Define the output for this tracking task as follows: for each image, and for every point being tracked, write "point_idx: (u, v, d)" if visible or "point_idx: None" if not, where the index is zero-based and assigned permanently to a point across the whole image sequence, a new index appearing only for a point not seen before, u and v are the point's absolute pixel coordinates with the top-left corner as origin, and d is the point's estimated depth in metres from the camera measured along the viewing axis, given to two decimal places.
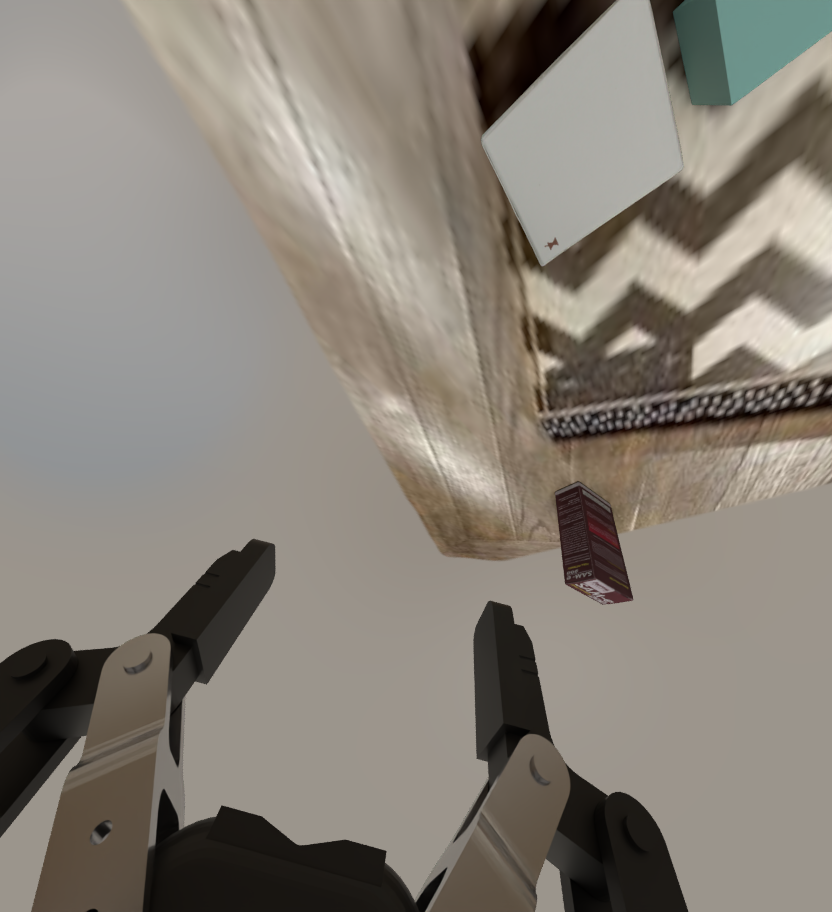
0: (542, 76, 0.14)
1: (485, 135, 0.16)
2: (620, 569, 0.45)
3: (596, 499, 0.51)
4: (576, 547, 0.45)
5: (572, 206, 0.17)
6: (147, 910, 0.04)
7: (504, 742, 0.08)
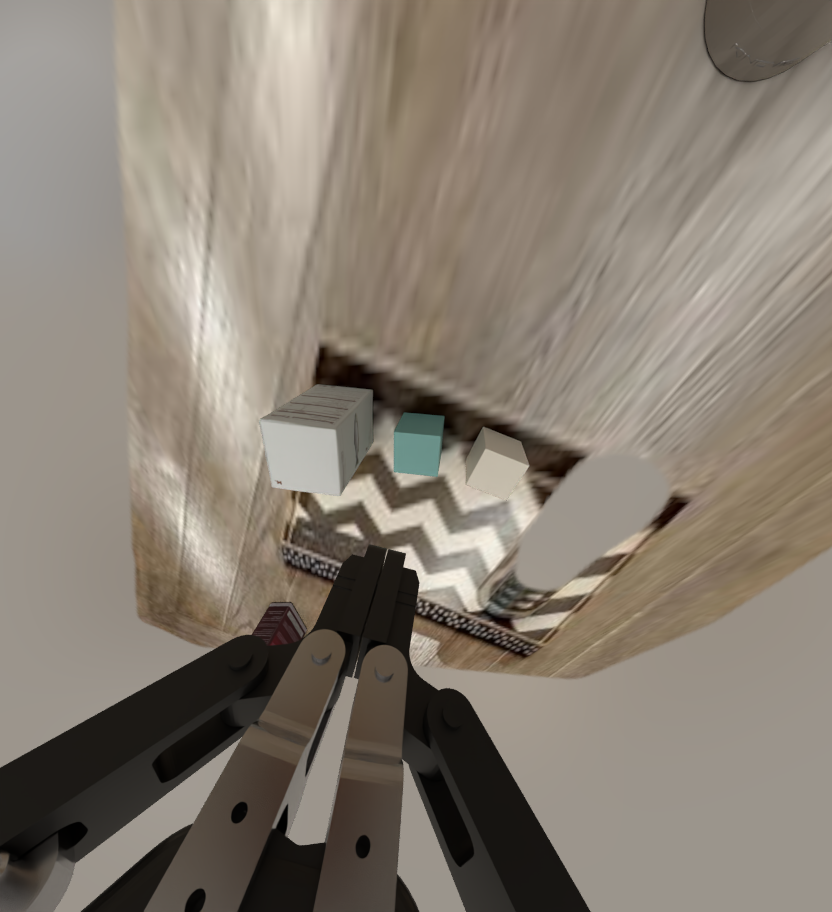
0: (293, 423, 0.27)
1: (261, 420, 0.28)
2: None
3: (296, 622, 0.60)
4: None
5: (292, 475, 0.30)
6: None
7: (366, 655, 0.09)
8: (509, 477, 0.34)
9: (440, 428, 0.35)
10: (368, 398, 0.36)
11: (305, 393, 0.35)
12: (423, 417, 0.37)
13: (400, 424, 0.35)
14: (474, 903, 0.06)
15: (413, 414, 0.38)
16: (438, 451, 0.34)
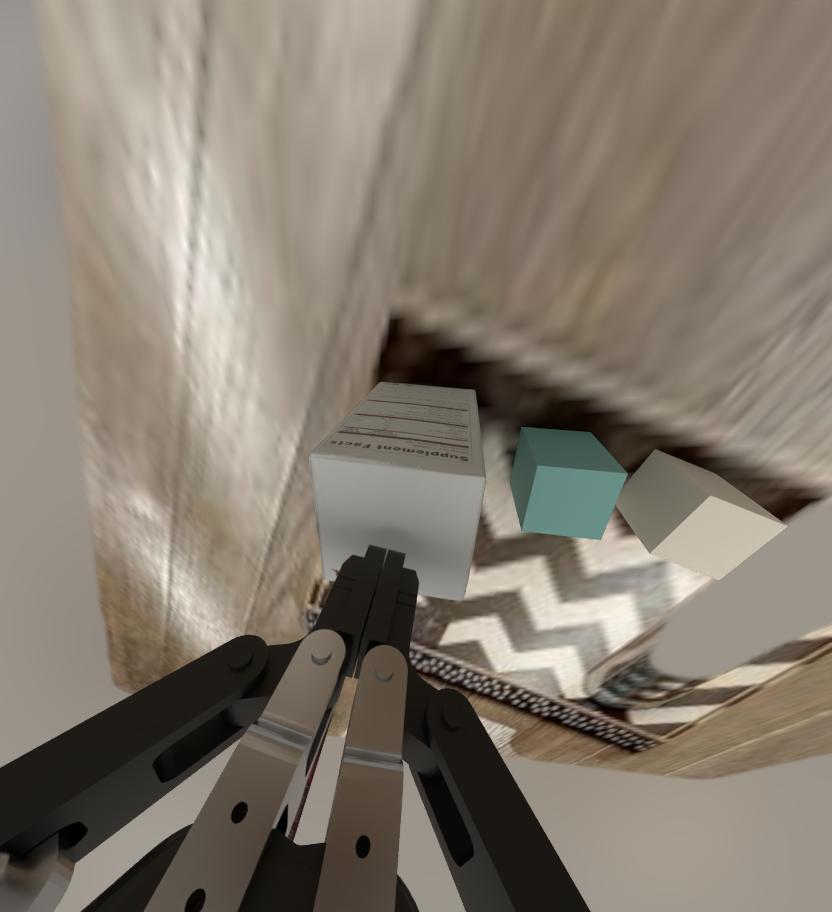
0: (387, 462, 0.12)
1: (315, 455, 0.13)
2: None
3: None
4: None
5: None
6: None
7: (366, 655, 0.09)
8: (739, 545, 0.19)
9: (609, 456, 0.20)
10: None
11: (372, 396, 0.20)
12: (561, 435, 0.22)
13: (536, 449, 0.20)
14: (474, 903, 0.06)
15: (540, 431, 0.23)
16: (615, 499, 0.19)
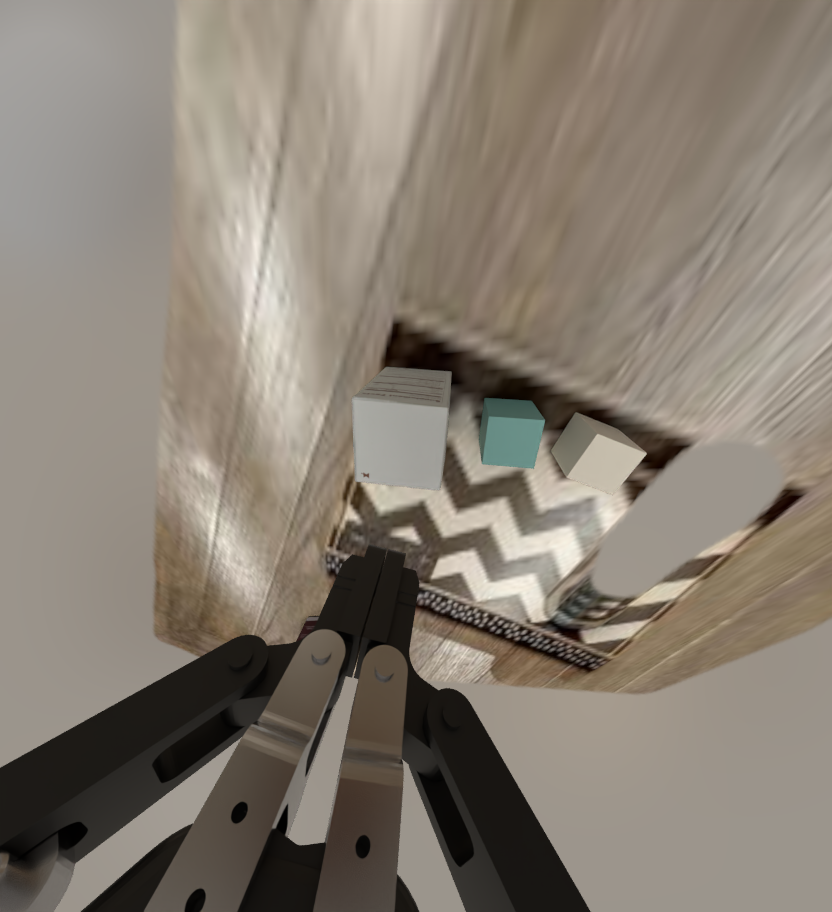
0: (395, 401, 0.23)
1: (355, 398, 0.23)
2: None
3: None
4: None
5: (384, 466, 0.25)
6: None
7: (366, 655, 0.09)
8: (620, 468, 0.30)
9: (537, 412, 0.30)
10: None
11: (382, 374, 0.30)
12: (510, 402, 0.33)
13: (490, 409, 0.31)
14: (474, 903, 0.06)
15: (497, 399, 0.34)
16: (539, 438, 0.29)
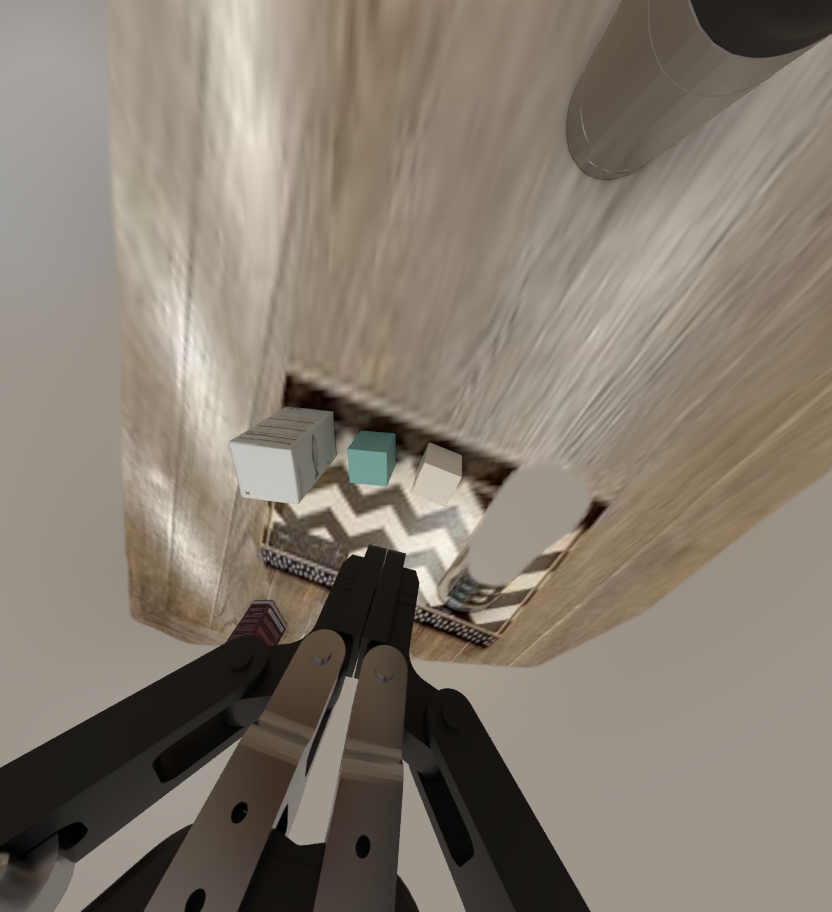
0: (256, 445, 0.33)
1: (230, 442, 0.34)
2: None
3: (276, 618, 0.66)
4: None
5: (258, 487, 0.36)
6: None
7: (366, 655, 0.09)
8: (446, 487, 0.40)
9: (388, 445, 0.41)
10: (328, 419, 0.42)
11: (273, 416, 0.41)
12: (376, 435, 0.43)
13: (355, 442, 0.41)
14: (474, 903, 0.06)
15: (369, 432, 0.44)
16: (385, 465, 0.40)
